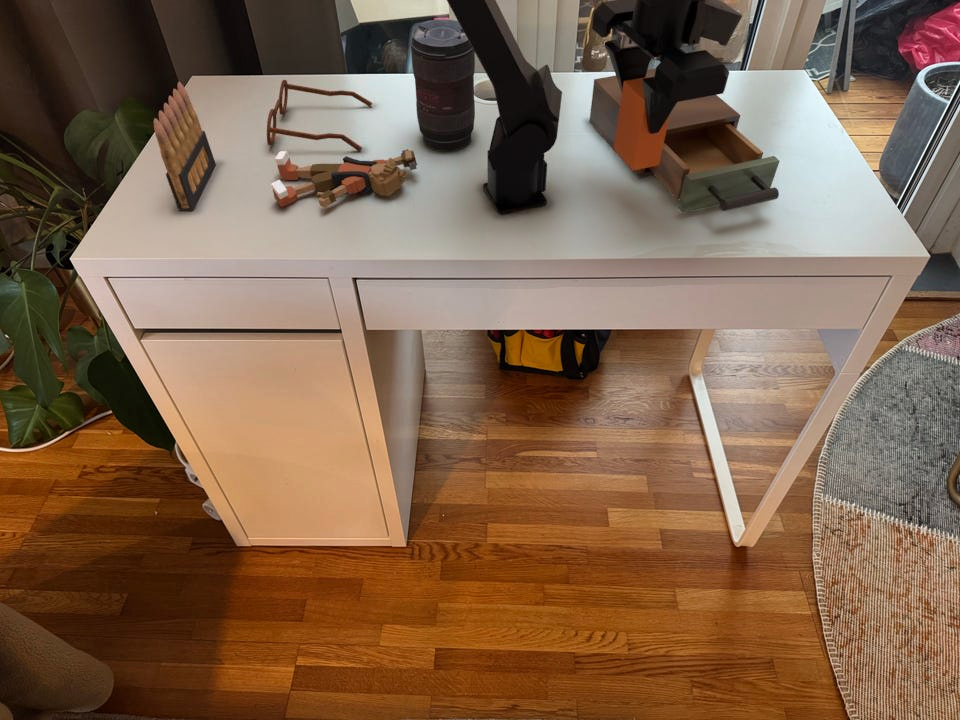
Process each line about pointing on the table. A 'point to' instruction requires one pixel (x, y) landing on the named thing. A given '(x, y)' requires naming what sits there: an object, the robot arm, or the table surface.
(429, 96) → the camera lens
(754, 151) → the drawer
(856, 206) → the table surface
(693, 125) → the cabinet
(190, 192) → the ammunition clip
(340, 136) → the glasses
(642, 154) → the orange rectangular block
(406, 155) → the character figurine
